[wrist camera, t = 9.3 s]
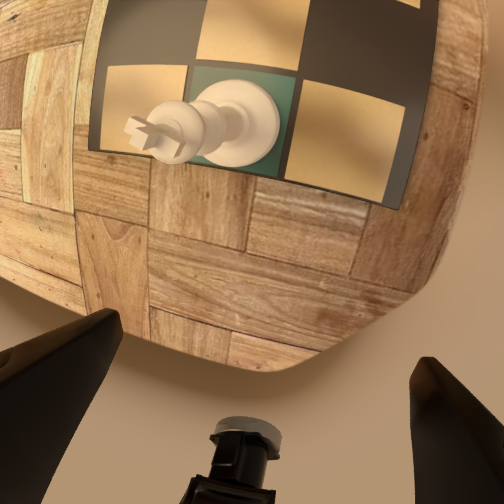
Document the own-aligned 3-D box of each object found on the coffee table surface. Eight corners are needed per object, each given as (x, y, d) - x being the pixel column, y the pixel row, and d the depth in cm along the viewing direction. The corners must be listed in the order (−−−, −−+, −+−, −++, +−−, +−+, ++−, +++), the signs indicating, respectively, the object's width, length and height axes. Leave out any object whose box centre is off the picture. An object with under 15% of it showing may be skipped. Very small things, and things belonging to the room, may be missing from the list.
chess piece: (251, 182, 17) (182, 266, 8) (177, 141, 17) (51, 181, 8) (297, 107, 15) (279, 93, 6) (217, 65, 14) (107, 22, 5)
